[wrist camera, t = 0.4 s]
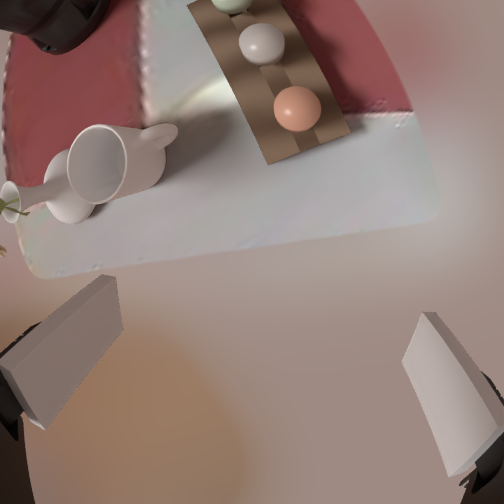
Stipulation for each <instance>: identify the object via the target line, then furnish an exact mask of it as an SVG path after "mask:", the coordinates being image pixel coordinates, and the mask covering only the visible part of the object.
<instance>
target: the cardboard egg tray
mask: <svg viewBox="0 0 504 504" xmlns="http://www.w3.org/2000/svg"><path fill="white" fill-rule="evenodd" d="M187 7H188V9H189V10H190V12H191V14H192V16H193V17H194V19H195V21H196V23H197V24H198V26H199V28H200V30H201V32H202V33H203V35H204V37H205V39H206V41H207V43H208V44H209V46H210V48H211V50H212V52H213V54H214V56H215V57H216V59H217V61H218V63H219V65H220V67H221V69H222V71H223V73H224V75H225V77H226V79H227V81H228V83H229V85H230V87H231V89H232V91H233V93H234V95H235V97H236V99H237V101H238V103H239V105H240V107H241V109H242V111H243V113H244V115H245V117H246V119H247V121H248V123H249V125H250V127H251V130H252V132H253V134H254V136H255V138H256V140H257V142H258V144H259V147H260V149H261V151H262V153H263V155H264V158H265V160H266V162H267V164H268V165H270V164H272V163H274V162H277V161H279V160H281V159H284V158H286V157H289V156H291V155H294V154H296V153H299V152H301V151H304V150H306V149H309V148H312V147H314V146H317V145H319V144H322V143H325V142H327V141H330V140H333V139H336V138H338V137H341V136H344V135H347V134H350V133H351V131H350V129H349V127H348V124H347V122H346V120H345V118H344V115H343V113H342V111H341V109H340V107H339V105H338V103H337V100H336V98H335V96H334V94H333V92H332V90H331V88H330V86H329V84H328V82H327V80H326V78H325V77H324V75H323V73H322V71H321V69H320V67H319V65H318V64H317V62H316V60H315V58H314V56H313V55H312V53H311V51H310V49H309V48H308V46H307V44H306V43H305V41H304V39H303V38H302V36H301V34H300V33H299V31H298V30H297V28H296V26H295V25H294V23H293V22H292V20H291V19H290V17H289V16H288V14H287V13H286V11H285V10H284V8H283V7H282V5H281V4H280V2H279V1H278V0H253V1H252V4H251V5H250V7H249V8H247V9H246V10H244V11H243V12H240V13H236V14H225V13H222V12H220V11H218V10H217V9H216V8H215V6H214V4H213V2H212V0H197V1H195V2H193V3H191V4H189V5H187ZM258 23H266V24H271V25H273V26H275V27H277V28H278V29H279V30H280V31H281V32H282V33H283V35H284V39H285V45H284V54H283V56H282V58H281V59H280V60H279V61H278V62H277V63H275V64H273V65H270V66H264V67H262V66H256V65H253V64H251V63H249V62H248V61H247V60H246V59H245V57H244V56H243V53H242V51H241V48H240V46H239V37H240V35H241V33H242V32H243V31H244V30H245V29H246V28H247V27H249V26H251V25H254V24H258ZM292 86H300V87H304V88H307V89H309V90H310V91H312V92H313V93H314V94H315V95H316V96H317V97H318V99H319V101H320V104H321V114H320V117H319V119H318V121H317V122H316V123H315V124H314V125H313V126H312V127H311V128H310V129H308V130H307V131H304V132H298V133H296V132H290V131H288V130H286V129H284V128H283V127H281V126H280V125H279V123H278V122H277V120H276V118H275V114H274V102H275V99H276V97H277V95H278V94H279V93H280V92H281V91H282V90H284V89H286V88H288V87H292Z"/></svg>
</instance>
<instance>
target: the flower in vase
mask: <svg viewBox="0 0 504 504" xmlns="http://www.w3.org/2000/svg"><path fill="white" fill-rule="evenodd" d="M69 151H70V148H69V149H65V150H63V151H62V152H60V153H59V154H57V155H56V156H55V157H54V158H53V159H52V161H51V162H50V164H49V166H48V168H47V171H46V174H45V177H44V184H42V185H39V186H34V187H20V186H18V185H16V184H15V183H14V182H12V181H7V182H5V184H4V185H3V187H2V189H1V194H0V214H1V213H3V215H4V217H5V219H6V220H7V221H8V222H10V223H15V222H16V221H17V220H18V219H19V217H20V215H28V214H29V213H30V212H27V213H22V212H23V211H24V210H25V209H27V208H28V207H30V206H32V205H34V204H37V203H40V202H46V203H47V206H48V208H49V209H50V211H51V212H52V213H53V215H54V216H55V217H56V218H57V219H59V220H60V221H62V222H64V223H68V224H78V223H81V222H83V221H84V220H86V219H87V218H88V217H89V216H90V214H91V213H92V211H93V209H94V207H95V204H91V203H88V202H85V201H83V200H82V199H81V198H79V197H78V196H77V195H76V193H75V192H74V190H73V189H72V187H71V185H70V182H69V179H68V173H67V160H68V154H69ZM2 252H4V253H7V251H6V249H5V248H4V247H3V246H0V256H1V257H5V256H4V255H3V253H2Z"/></svg>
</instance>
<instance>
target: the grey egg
mask: <svg viewBox="0 0 504 504" xmlns="http://www.w3.org/2000/svg"><path fill="white" fill-rule="evenodd" d="M284 45H285V39H284V35H283V33H282V32H281V31H280V30H279V29H278V28H277V27H275V26H273V25H271V24H266V23H258V24H254V25H251V26H249V27H247V28H246V29H245V30H244V31H243V32H242V33H241V35H240V37H239V46H240V48H241V51H242V53H243V56H244V57H245V59H246V60H247V61H248V62H249V63H251V64H253V65H256V66H262V67H264V66H270V65H273V64H275V63H277V62H278V61H279V60H280V59H281V58H282V56H283V54H284Z"/></svg>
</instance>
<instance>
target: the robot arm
mask: <svg viewBox="0 0 504 504" xmlns="http://www.w3.org/2000/svg"><path fill="white" fill-rule="evenodd" d="M109 1H110V0H0V29H1V30H6V31H9V32H14V33H18V34H22V35H25V36H27V37H28V38H29V39H30V40H31V41H32V42H33V43H34V44H35V45H36V46H37V47H38V48H39V49H41V50H42V51H44V52H46V53H50V54H53V55H59V54H63V53H66V52H68V51H70V50H72V49H73V48H75V47H76V46H77V45H79V44H80V43H81V42H82V41H84V40H85V39H86V38H87V37H88V36H89V35H90V33H91V32H92V31H93V30H94V29H95V28H96V26H97V25H98V24H99V22H100V21H101V19H102V17H103V16H104V14H105V12H106V10H107V7H108V5H109ZM122 331H123V324H122V318H121V312H120V305H119V298H118V291H117V283H116V277H113V276H108V275H100V276H99V277H98V278H96V279H95V280H94V281H93V282H91V283H90V284H88V285H87V286H86V287H85V288H83V289H82V290H81V291H79V292H78V293H77V294H76V295H74V296H73V297H72V298H71V299H69V300H68V301H67V302H65V303H64V304H63V305H62V306H61V307H59V308H58V309H57V310H56V311H54V312H53V313H52V314H51V315H50V316H48V317H47V318H46V319H45V320H44V321H43V322H40V323H38V324H35V325H33V326H31V327H30V328H29V329H27V330H26V331H25V332H24V333H23V334H22V336H19V337H18V338H17V339H16V341H15V342H12V343H11V344H10V345H9V346H8V347H7V348H6V349H5V350H3V351H2V352H1V353H0V504H35V501H34V496H33V492H32V488H31V482H30V478H29V471H28V465H27V458H26V449H25V442H24V428H23V427H24V426H23V420H22V417H21V416H20V415H21V414H22V412H23V411H24V412H25V413H26V415H27V416H28V418H29V419H30V421H31V422H32V423H34V424H36V425H37V426H39V427H41V428H42V429H44V430H46V429H47V428H48V427H49V425H50V424H51V423H52V421H53V420H54V418H55V417H56V416H57V414H58V413H59V411H60V410H61V409H62V407H63V406H64V405H65V403H66V402H67V401H68V399H69V398H70V397H71V395H72V394H73V392H74V391H75V390H76V389H77V388H78V386H79V385H80V384H81V382H82V381H83V380H84V378H85V377H86V376H87V375H88V373H89V372H90V370H92V368H93V367H94V366H95V364H96V363H97V361H99V359H100V358H101V357H102V356H103V354H104V353H105V352H106V351H107V349H108V348H109V347H110V346H111V345H112V343H113V342H114V341H115V340H116V338H117V337H118V336H119V335H120V334H121V332H122ZM402 364H403V366H404V368H405V370H406V372H407V374H408V376H409V378H410V381H411V383H412V385H413V387H414V390H415V392H416V394H417V396H418V399H419V401H420V403H421V406H422V408H423V410H424V413H425V415H426V417H427V420H428V422H429V425H430V427H431V430H432V433H433V435H434V438H435V440H436V443H437V446H438V448H439V451H440V454H441V457H442V459H443V462H444V465H445V468H446V471H447V474H448V477H452V476H455V475H458V474H460V473H463V472H465V471H466V470H467V469H468V468H469V467H470V466H471V465H472V464H473V463H475V464H476V467H477V468H476V469H475V470H473V471H472V472H471V473H470V474H469V475H468V476H467V477H465V478H464V479H463V480H462V481H461V482H460V484H459V486H461V485H463V484H464V483H465V482H466V481H467V480H469V483H467V484H466V485H465V486H464V487H465V488H466V491H465V493H464V496H463V499H462V501H461V503H460V504H504V399H503V398H502V397H500V395H501V394H500V393H499V391H498V390H496V387H495V386H494V384H493V382H492V381H491V379H490V378H489V377H487V376H486V375H485V374H484V373H483V372H482V371H480V370H479V368H478V367H477V365H476V364H475V362H474V361H473V360H472V358H471V357H470V356H469V354H468V353H467V352H466V351H465V349H464V348H463V346H462V345H461V344H460V342H459V341H458V340H457V338H456V337H455V336H454V334H453V333H452V332H451V331H450V329H449V328H448V327H447V326H446V325H445V323H444V322H443V321H442V320H441V318H440V317H439V316H438V315H437V314H436V312H422V314H421V317H420V319H419V322H418V325H417V327H416V330H415V332H414V335H413V337H412V339H411V342H410V344H409V346H408V349H407V351H406V353H405V356H404V358H403V360H402Z"/></svg>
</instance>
